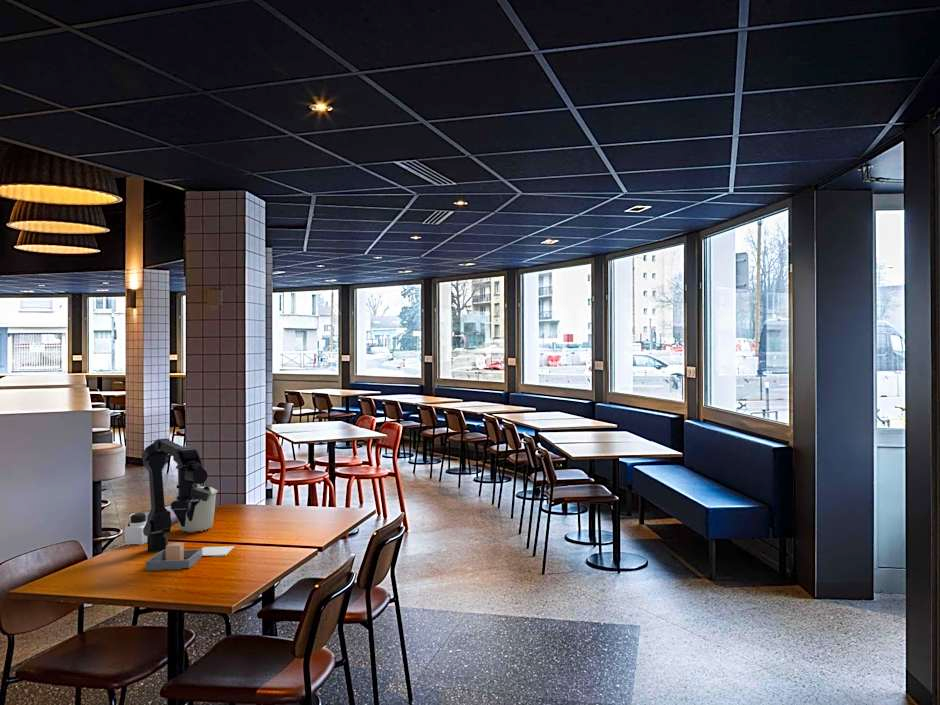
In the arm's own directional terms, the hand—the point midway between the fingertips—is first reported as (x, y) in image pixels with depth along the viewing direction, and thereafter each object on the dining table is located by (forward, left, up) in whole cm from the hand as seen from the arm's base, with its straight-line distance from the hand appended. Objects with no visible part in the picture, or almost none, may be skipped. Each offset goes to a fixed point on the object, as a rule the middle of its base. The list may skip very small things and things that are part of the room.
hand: (187, 523), depth 268 cm
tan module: (-3, -4, -13) cm, 14 cm away
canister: (-12, +49, -14) cm, 52 cm away
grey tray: (-3, -4, -13) cm, 14 cm away
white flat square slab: (+7, +10, -13) cm, 18 cm away
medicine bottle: (-29, +29, -14) cm, 43 cm away
